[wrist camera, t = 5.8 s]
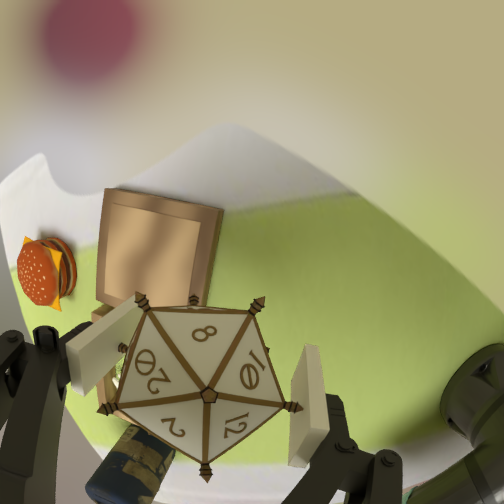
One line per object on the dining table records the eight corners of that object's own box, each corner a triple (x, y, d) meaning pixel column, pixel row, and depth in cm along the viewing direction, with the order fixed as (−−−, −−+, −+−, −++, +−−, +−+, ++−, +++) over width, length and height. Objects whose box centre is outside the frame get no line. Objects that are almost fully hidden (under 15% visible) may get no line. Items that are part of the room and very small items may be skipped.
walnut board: (224, 209, 31) (217, 211, 28) (202, 326, 34) (195, 335, 31) (116, 188, 32) (104, 188, 29) (106, 293, 35) (95, 300, 32)
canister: (176, 462, 40) (141, 535, 23) (129, 443, 41) (86, 508, 24) (179, 432, 38) (136, 516, 21) (127, 412, 39) (72, 483, 22)
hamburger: (79, 242, 34) (46, 252, 28) (78, 305, 36) (49, 321, 30) (39, 228, 35) (8, 235, 29) (39, 286, 37) (11, 298, 31)
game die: (203, 319, 20) (65, 351, 13) (269, 237, 15) (66, 251, 8) (268, 429, 16) (133, 500, 9) (370, 384, 11) (188, 528, 4)
